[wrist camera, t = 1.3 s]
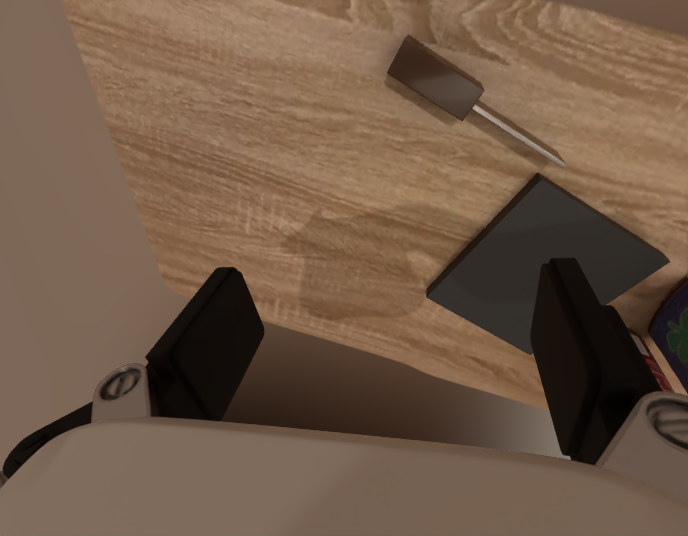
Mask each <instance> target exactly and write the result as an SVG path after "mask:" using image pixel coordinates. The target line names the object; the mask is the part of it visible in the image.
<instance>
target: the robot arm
mask: <svg viewBox="0 0 688 536" xmlns="http://www.w3.org/2000/svg"><path fill="white" fill-rule="evenodd" d="M263 336H264V326H263V324H262V321H261V319H260V316H259V314H258V312H257V309H256V307H255V304H254V302H253V299H252V297H251V295H250V292H249V290H248V287H247V285H246V282H245V280H244V278H243V275H242V273H241V272H240V271H237V269H236V268H234V267H219V268H217V269H215V271H214V272H213V273H212V274H211V276H210V277H209V278H208V279H207V281H206V282H205V283H204V284H203V286H202V287H201V288H200V289H199V291H198V292H197V293H196V294H195V296H194V297H193V298H192V299H191V300H190V302H189V303H188V304H187V306H186V307H185V308H184V309H183V311H182V312H181V313H180V314H179V316H178V317H177V318H176V319H175V320H174V322H173V323H172V324H171V325H170V327H169V328H168V329H167V331H166V332H165V333H164V334H163V336H162V337H161V338H160V339H159V340H158V342H157V343H156V344H155V345H154V347H153V348H152V349H151V350H150V352H149V353H148V354H147V355H146V357H145V358H146V359H147V360H148V362H149V363H148V364H147V366H146V367H145V366H143V365H141V364H138V363H133V364H127V365H125V366H122V367H120V368H118V369H116V370H114V371H112V372H111V373H110V374H109V375H107V376H106V377H105V378H104V379H103V380H102V381H101V382H100V383H99V385H98V386H97V388H96V389H95V392H94V396H93V401H92V402H90V403H89V404H87V405H85V406H83V407H81V408H79V409H77V410H75V411H74V412H71V413H70V414H68V415H66V416H64V417H62V418H60V419H58V420H56V421H54V422H53V423H51V424H49V425H47V426H45V427H43V428H41V429H39V430H38V431H36V432H34V433H32V434H31V435H29V436H28V437H26V438H25V439H23V440H22V441H21V442H20V443H19V444H18V445H17V446H16V447H15V448H14V449H13V450H12V451H11V453H10V454H9V456H8V457H7V459H6V460H5V463H4V466H3V470H2V471H0V536H688V396H686V395H683V394H679V393H674V392H669V391H663V390H662V388H661V386H660V384H659V383H658V381H657V379H656V378H655V376H654V374H653V372H652V371H651V369H650V367H649V365H648V364H647V362H646V360H645V359H644V357H643V355H642V353H641V352H640V350H639V348H638V346H637V345H636V343H635V341H634V340H633V338H632V336H631V334H630V333H629V331H628V329H627V327H626V326H625V324H624V322H623V321H622V319H621V317H620V315H619V314H618V312H617V311H616V309H615V308H614V307H612V306H611V305H601V304H600V302H599V300H598V298H597V297H596V295H595V293H594V291H593V289H592V287H591V285H590V284H589V282H588V280H587V278H586V276H585V274H584V272H583V271H582V269H581V267H580V265H579V263H578V261H577V260H576V258H574V257H572V258H551V259H550V261H549V263H544V264H542V266H541V271H540V277H539V283H538V289H537V295H536V301H535V308H534V314H533V320H532V326H531V332H530V339H531V345H532V349H533V353H534V356H535V360H536V363H537V367H538V371H539V374H540V378H541V381H542V385H543V389H544V392H545V396H546V399H547V403H548V407H549V410H550V414H551V417H552V421H553V425H554V428H555V432H556V436H557V439H558V443H559V446H560V450H561V452H562V454H563V455H566V456H570V458H571V460H568V459H563V458H557V457H550V456H544V455H538V454H531V453H523V452H515V451H507V450H498V449H490V448H481V447H473V446H464V445H455V444H444V443H435V442H426V441H416V440H405V439H396V438H385V437H376V436H365V435H356V434H345V433H335V432H325V431H315V430H305V429H294V428H284V427H273V426H262V425H251V424H240V423H229V422H219V421H220V420H221V419H222V418H223V416H224V414H225V412H226V410H227V408H228V406H229V404H230V402H231V400H232V398H233V396H234V394H235V392H236V390H237V388H238V386H239V384H240V383H241V381H242V379H243V377H244V375H245V372H246V370H247V369H248V367H249V364H250V362H251V361H252V359H253V356H254V355H255V353H256V350H257V349H258V347H259V345H260V342H261V341H262V339H263Z"/></svg>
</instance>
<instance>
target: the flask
mask: <svg viewBox="0 0 688 536" xmlns="http://www.w3.org/2000/svg"><path fill="white" fill-rule="evenodd" d="M649 326H650V327H649V333H650V336H651V338H652V339H653V341H654V342H655V343H656V345H657V347H658V348H659V350H660V351H661V353H662V354H663V355H664V357H665V359H666V360H667V362H668V363H669V365H670V367H671V368H672V370H673V372H674V373H675V374H676V376H677V377H678V379H679V380H680V382H681V384H682V386H683V387H684V389H685V390H686V392H687V394H688V276H686V277H685V278H684V279H682V280H681V281H680V282H679V283H678V284H677V286H676V287H674V288H673V289H672V290H671V292H670V293H669V294H668V295H667V296H666V297H665V299H664V301H663V302H662V303H661V307H660V308H659V309H658V311H657V312H656V314H655V315H654V318H653V319H652V322H651V323H650V325H649Z"/></svg>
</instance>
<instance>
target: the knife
mask: <svg viewBox="0 0 688 536" xmlns="http://www.w3.org/2000/svg"><path fill="white" fill-rule="evenodd" d="M387 73H388V74H389V75H391V76H392V77H394V78H395V79H397V80H398V81H400V82H402V83H403V84H405V85H406V86H408V87H409V88H411V89H412V90H414V91H416V92H417V93H419V94H420V95H422V96H423V97H425V98H426V99H428V100H430V101H431V102H433V103H434V104H436V105H437V106H439V107H440V108H442V109H444V110H445V111H447V112H448V113H450V114H451V115H453V116H454V117H456V118H458V119H459V120H461V121H463V120H464V118H465V117H466V115H467V114H468V113H469V111H470V110H471V109H473V110H474V111H476V112H477V113H479V114H480V115H482V116H483V117H485V118H486V119H488V120H490V121H491V122H493V123H494V124H496V125H497V126H499V127H500V128H502V129H503V130H505V131H506V132H508V133H510V134H511V135H513V136H514V137H516V138H517V139H519V140H520V141H522V142H523V143H525V144H526V145H528V146H529V147H531V148H533V149H534V150H536V151H537V152H539V153H540V154H542V155H543V156H545V157H546V158H548V159H549V160H551V161H553V162H554V163H556V164H557V165H559V166H560V167H562V168H564V167H565V166H566V165H567V164H566V162H565V161H564V160H563V159H562V157H561V156H560V155H559V153H558V152H557V151H555V150H554V149H552V148H551V147H549V146H548V145H546V144H545V143H543V142H542V141H540V140H539V139H537V138H536V137H534V136H533V135H531V134H530V133H528V132H527V131H525V130H523V129H522V128H520V127H519V126H517V125H516V124H514V123H513V122H511V121H510V120H508V119H507V118H505V117H504V116H502V115H501V114H499V113H498V112H496V111H495V110H493V109H492V108H490V107H488V106H487V105H485V104H484V103H482V102H481V101H479V100H478V99H479V98H480V96H481V95H482V93H483V92H484V88H483V86H482V84H481V83H480V82H479V81H477V80H476V79H474V78H473V77H471V76H470V75H468V74H467V73H465V72H464V71H462V70H461V69H459V68H458V67H456V66H455V65H453V64H452V63H450V62H449V61H447V60H446V59H444V58H443V57H441V56H440V55H438V54H437V53H435V52H434V51H432V50H431V49H429V48H428V47H426V46H425V45H423V44H422V43H420V42H419V41H417V40H416V39H414V38H413V37H411V36H410V35H407V37H406V38H405V40H404V42H403V44H402V45H401V47H400V49H399V51H398V53H397V55H396V57H395V58H394V60H393V62H392V64H391V66H390V68H389V70H388V72H387Z"/></svg>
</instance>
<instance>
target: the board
mask: <svg viewBox="0 0 688 536" xmlns="http://www.w3.org/2000/svg"><path fill="white" fill-rule="evenodd" d="M572 257H574V258H576V260H577V261H578V263H579V265H580V267H581V269H582V271H583V272H584V274H585V276H586V278H587V280H588V282H589V284H590V285H591V287H592V289H593V291H594V293H595V295H596V297H597V298H598V300H599V302H600V304H601V305H606V304H608V303H609V302H611V301H612V300H614V299H615V298H617V297H618V296H620V295H621V294H623V293H624V292H626V291H627V290H629V289H630V288H632V287H633V286H635V285H636V284H638V283H639V282H641V281H642V280H644V279H645V278H647V277H648V276H650V275H651V274H653V273H654V272H656V271H657V270H659V269H660V268H662V267H663V266H665V265H666V264H668V263H669V262H670V261H669V259H668V258H667V257H666V256H665V255H664V254H663V253H662V252H661V251H659V250H658V249H656V248H654V247H653V246H651V245H650V244H648V243H647V242H645V241H644V240H642V239H640V238H639V237H637V236H636V235H634V234H633V233H631V232H629V231H628V230H626V229H625V228H623V227H622V226H620V225H619V224H617V223H615V222H614V221H612V220H611V219H609V218H608V217H606V216H605V215H603V214H601V213H600V212H598V211H597V210H595V209H594V208H592V207H591V206H589V205H587V204H586V203H584V202H583V201H581V200H580V199H578V198H577V197H575V196H573V195H572V194H570V193H569V192H567V191H566V190H564V189H562V188H561V187H559V186H558V185H556V184H555V183H553V182H552V181H550V180H548V179H547V178H545V177H544V176H542V175H541V174H539V173H537V174H536V175H535V176H534V177H533V178H532V180H531V181H530V182H529V183H528V184H527V185H526V186H525V187H524V188H523V189H522V190H521V191H520V192H519V193H518V194H517V195H516V196H515V197H514V198H513V199H512V200H511V201H510V203H509V204H508V205H507V206H506V207H505V208H504V209H503V210H502V211H501V212H500V213H499V214H498V215H497V216H496V217H495V218H494V219H493V220H492V221H491V222H490V223H489V225H488V226H487V227H486V228H485V229H484V230H483V231H482V232H481V233H480V234H479V235H478V236H477V237H476V238H475V239H474V240H473V241H472V242H471V243H470V244H469V245H468V247H467V248H466V249H465V250H464V251H463V252H462V253H461V254H460V255H459V256H458V257H457V258H456V259H455V260H454V261H453V262H452V263H451V264H450V265H449V266H448V267H447V269H446V270H445V271H444V272H443V273H442V274H441V275H440V276H439V277H438V278H437V279H436V280H435V281H434V282H433V283H432V284H431V285H430V286H429V287H428V288H427V293H426V297H427V298H428V299H430V300H432V301H434V302H435V303H437V304H439V305H441V306H443V307H444V308H446V309H448V310H450V311H452V312H454V313H455V314H457V315H459V316H461V317H463V318H464V319H466V320H468V321H470V322H472V323H473V324H475V325H477V326H479V327H481V328H482V329H484V330H486V331H488V332H490V333H491V334H493V335H495V336H497V337H499V338H500V339H502V340H504V341H506V342H508V343H509V344H511V345H513V346H515V347H517V348H518V349H520V350H522V351H524V352H526V353H527V354H529V355H531V354H533V349H532V345H531V339H530V332H531V326H532V320H533V314H534V308H535V301H536V295H537V289H538V283H539V277H540V271H541V266H542V264H544V263H549V261H550V259H551V258H572Z"/></svg>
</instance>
